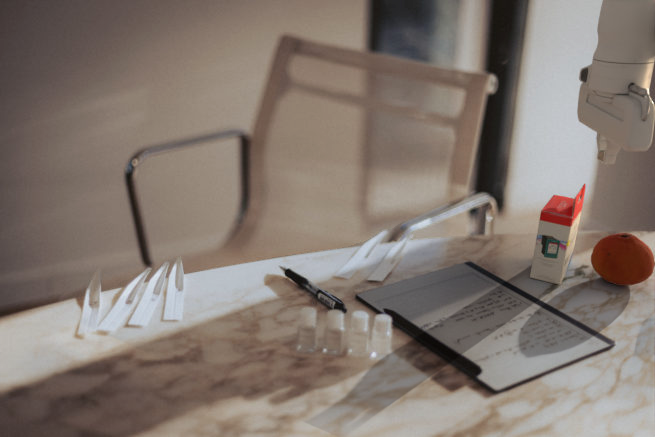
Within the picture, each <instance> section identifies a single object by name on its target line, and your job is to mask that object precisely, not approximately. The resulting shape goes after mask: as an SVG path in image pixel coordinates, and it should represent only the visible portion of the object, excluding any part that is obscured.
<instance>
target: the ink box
mask: <svg viewBox="0 0 655 437" xmlns="http://www.w3.org/2000/svg"><path fill="white" fill-rule="evenodd" d="M586 187H587V186H586V183H583V184H582V186H581V188H580V189H579V191H578V192H577V193H576V195H575V197H574V198H573V197H568V196H564V195H558V194H553V195H552V196H551V198H550V199H549V200H548V201H547V203H546V204H545V205H544V207H543V208H542V209H541V210H540V214H539V219H538V220H539V221H538V228H537V234H536V239H535V244H534V251H533V257H532V261H531V262H532V263H531V267H530V274H529V278H531V279H534V280H539V281H542V282H547V283H551V284H553V285H561V284H562V282H563V280H564V277H565V276H566V275H567V274H566V273H567V272H568V270H569V269H570V266H571V264H572V259H573V254H574V250H575V245H576V239H577V235H578V229H579V225H580V219H581V216H582V211H583V205H584V200H585V195H586V194H585V193H586Z"/></svg>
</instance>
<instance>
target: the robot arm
mask: <svg viewBox="0 0 655 437" xmlns="http://www.w3.org/2000/svg"><path fill="white" fill-rule="evenodd" d="M596 28H597V31H596V32H597V45H596V48H595V51H594V53H593V55H592V60H591V63H590V64H589V65H586V66H584V67H581V68H580V70H579V75H578V81H579V82H581V84H580V86H579V91H578V98H577V110H576V111H577V112H576V113H577V119H578V122H579V123H581V124H582V125H584V126H586V127H587V128H589V129H590V130H592V131H594V132H595V133H596V137H595V138H596V139H595V140H596V145H597V155H596V159H597V160H598V161H599V162H601V163H602V164H603V165H605V166H613V165H614V164H616V160H617V155H618V153H619V152H620V151H621V149H623V150H624V151H626V152H647V151H648V150H649V149H650V147H651V146H652V143H653V137H654V129H655V103H654V102H653V99H652V98H651V95H650V87H651V82H652V77H653V72H654V66H655V0H602V2H601V6H600V12H599V17H598V23H597V27H596Z"/></svg>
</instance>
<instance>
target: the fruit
mask: <svg viewBox="0 0 655 437" xmlns="http://www.w3.org/2000/svg"><path fill="white" fill-rule="evenodd" d="M590 262H591V266H592V269H593V270H594V271H595V273H596V274H597V275H598V276H599V277H600V278H602V279H603V280H604V281H607V282H609V283H611V284H614V285H618V286H632V285H637V284H640V283H643V282H645V281H646V280H648V279H649V278H650V277H651V276H652V274H653V273H654V269H655V255H654V253H653V251H652V249H651V248H650V247H649V245H648V244H646V243H645V242H644V241H643V240H641V239H640V238H639V237H637V236H636V235H635V234H631V233H628V232H618V233H611V234H608V235H606V236H604V237H601V239H600V240H598V242H597V243H596V244H595V245H594V246H593V249H592V252H591V255H590Z"/></svg>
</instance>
